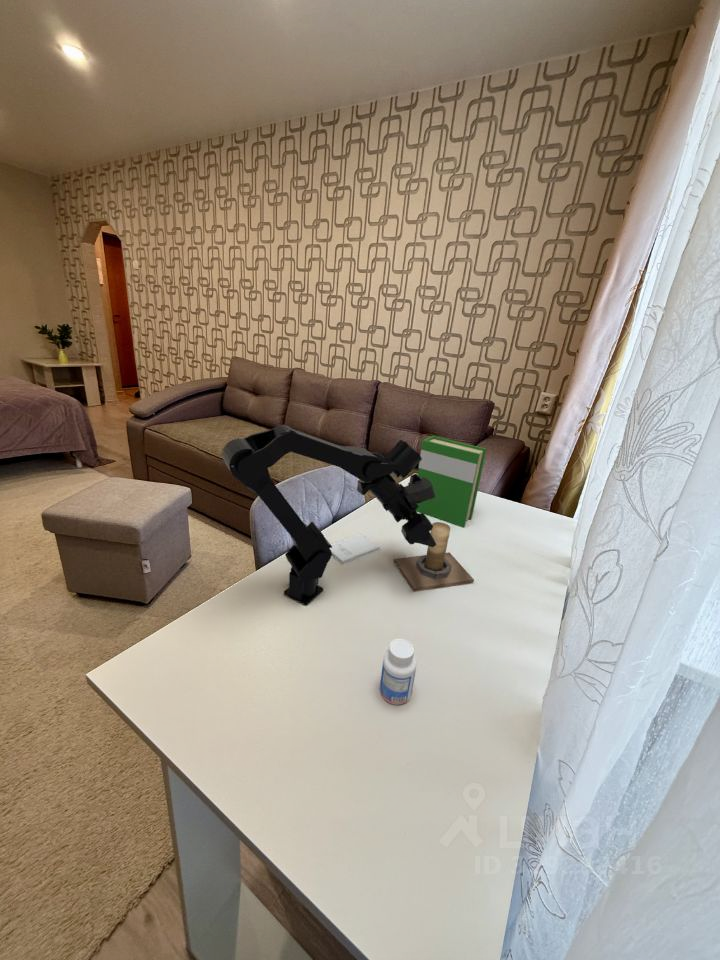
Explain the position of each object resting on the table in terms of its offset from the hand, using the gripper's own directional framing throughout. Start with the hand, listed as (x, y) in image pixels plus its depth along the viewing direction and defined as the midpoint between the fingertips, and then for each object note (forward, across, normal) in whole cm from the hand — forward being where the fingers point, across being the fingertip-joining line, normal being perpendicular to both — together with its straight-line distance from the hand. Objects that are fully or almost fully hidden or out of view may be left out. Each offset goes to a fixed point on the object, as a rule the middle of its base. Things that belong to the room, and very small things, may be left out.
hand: (428, 535), depth 94 cm
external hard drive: (-3, +11, +20) cm, 23 cm away
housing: (+10, 0, +6) cm, 11 cm away
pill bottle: (-2, -32, +18) cm, 37 cm away
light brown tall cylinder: (+9, 0, +5) cm, 10 cm away
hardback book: (+19, +30, -4) cm, 36 cm away
